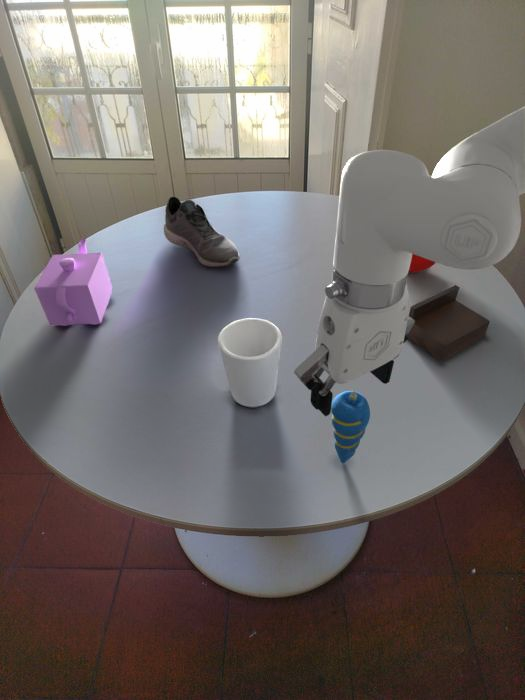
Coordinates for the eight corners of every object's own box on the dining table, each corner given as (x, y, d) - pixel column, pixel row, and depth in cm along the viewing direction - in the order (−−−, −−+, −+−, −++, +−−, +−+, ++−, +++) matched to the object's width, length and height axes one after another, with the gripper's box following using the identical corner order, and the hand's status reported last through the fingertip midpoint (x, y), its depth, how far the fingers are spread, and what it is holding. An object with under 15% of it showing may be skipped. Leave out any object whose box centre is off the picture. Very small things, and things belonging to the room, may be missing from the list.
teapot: (99, 337, 93) (81, 284, 84) (49, 339, 93) (25, 287, 84) (119, 280, 108) (105, 231, 99) (75, 282, 108) (58, 233, 99)
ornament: (321, 469, 69) (328, 401, 59) (331, 442, 72) (338, 373, 62) (356, 480, 67) (368, 412, 57) (364, 452, 71) (377, 383, 61)
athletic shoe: (216, 279, 107) (210, 231, 99) (160, 238, 122) (151, 193, 114) (251, 263, 111) (248, 216, 103) (192, 225, 126) (186, 182, 118)
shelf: (484, 337, 89) (495, 307, 84) (440, 362, 85) (449, 332, 80) (447, 313, 95) (455, 284, 90) (404, 335, 90) (410, 306, 86)
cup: (244, 366, 85) (240, 310, 77) (292, 385, 82) (293, 328, 73) (213, 402, 79) (205, 346, 71) (263, 424, 75) (261, 367, 67)
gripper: (324, 329, 43) (314, 442, 54) (454, 270, 49) (420, 382, 61) (278, 290, 47) (277, 401, 59) (402, 241, 54) (380, 350, 66)
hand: (350, 392), depth 60 cm, fingers open, 9 cm apart
